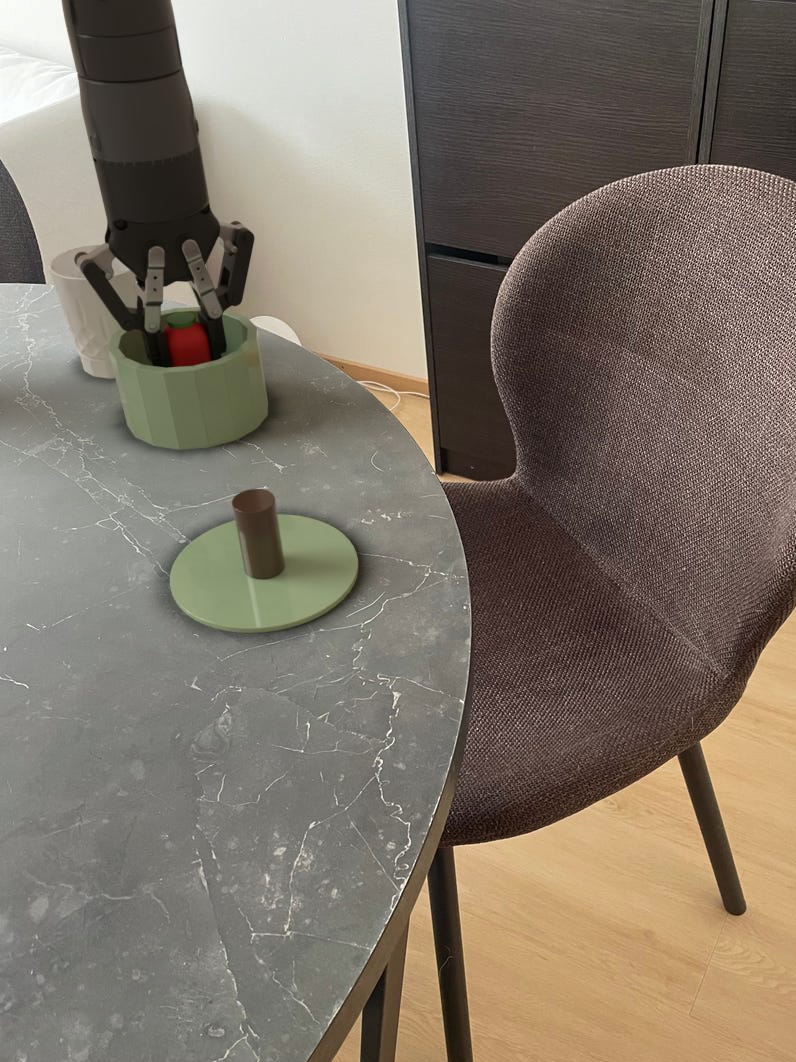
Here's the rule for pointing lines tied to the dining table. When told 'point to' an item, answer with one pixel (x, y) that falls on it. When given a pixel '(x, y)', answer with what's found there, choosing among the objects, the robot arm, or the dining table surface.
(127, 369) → the pot
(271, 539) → the lid
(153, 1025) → the dining table surface
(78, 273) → the white cup
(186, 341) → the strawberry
